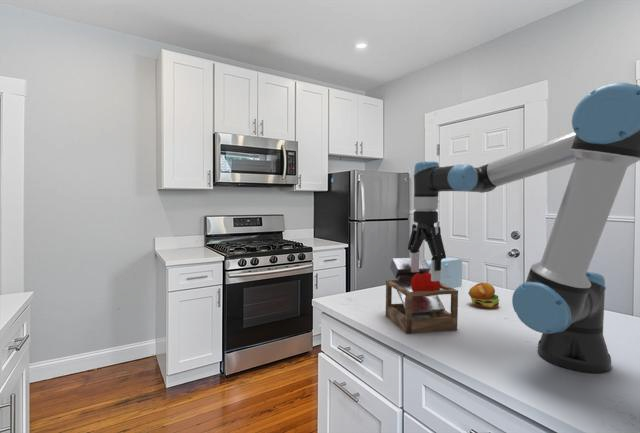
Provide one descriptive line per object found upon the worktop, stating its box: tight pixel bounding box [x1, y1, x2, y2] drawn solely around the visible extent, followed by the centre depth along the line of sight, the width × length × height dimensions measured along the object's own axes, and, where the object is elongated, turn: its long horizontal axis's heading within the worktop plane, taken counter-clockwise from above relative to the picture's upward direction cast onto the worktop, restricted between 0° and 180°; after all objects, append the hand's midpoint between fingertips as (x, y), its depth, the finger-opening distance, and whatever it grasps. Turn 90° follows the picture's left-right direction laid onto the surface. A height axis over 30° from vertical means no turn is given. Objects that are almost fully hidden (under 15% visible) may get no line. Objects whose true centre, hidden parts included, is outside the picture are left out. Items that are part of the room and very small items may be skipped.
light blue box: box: [426, 257, 463, 290], centre depth 159 cm, size 23×6×13 cm, turn 122°
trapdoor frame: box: [385, 279, 459, 335], centre depth 114 cm, size 17×17×12 cm
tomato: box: [411, 273, 440, 297], centre depth 111 cm, size 9×9×8 cm
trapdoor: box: [389, 257, 446, 313], centre depth 116 cm, size 19×13×6 cm
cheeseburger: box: [468, 282, 500, 310], centre depth 132 cm, size 10×11×10 cm
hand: (424, 276), depth 110 cm, fingers open, 13 cm apart
